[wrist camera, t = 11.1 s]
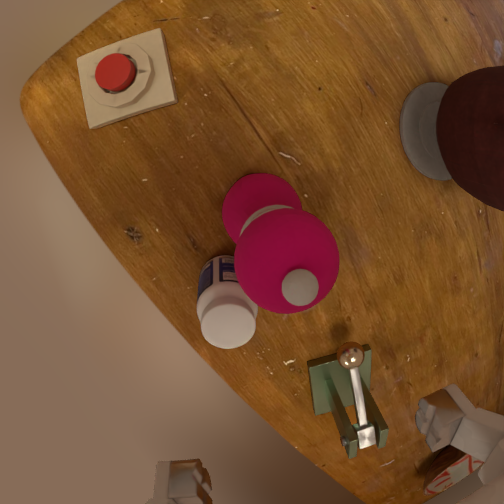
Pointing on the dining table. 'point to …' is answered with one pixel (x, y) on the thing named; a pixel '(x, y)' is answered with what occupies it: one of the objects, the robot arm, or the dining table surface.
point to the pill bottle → (224, 305)
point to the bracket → (344, 398)
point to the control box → (141, 88)
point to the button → (115, 72)
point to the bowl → (449, 470)
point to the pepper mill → (278, 245)
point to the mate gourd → (459, 132)
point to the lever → (357, 391)
